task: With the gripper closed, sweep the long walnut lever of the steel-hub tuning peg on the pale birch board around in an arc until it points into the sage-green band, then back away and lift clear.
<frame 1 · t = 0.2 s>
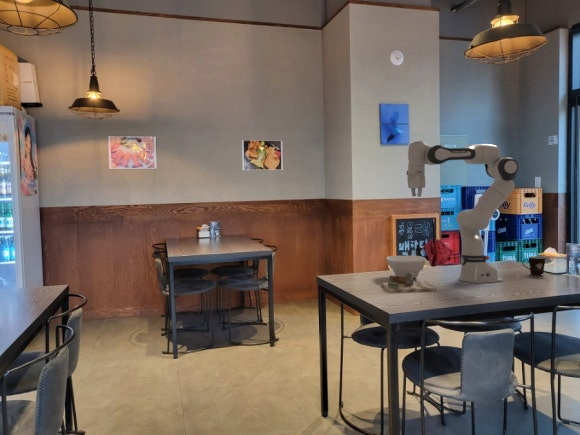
hand: (416, 196, 257), 47 cm above the table, tool pointing down, fingers open, 8 cm apart
coffee mug: (533, 274, 273), on the table
tuner board: (409, 287, 244), on the table
bowl: (406, 278, 272), on the table
tuning peg: (401, 278, 245), point 5 cm above the table, hinge at -20.0°
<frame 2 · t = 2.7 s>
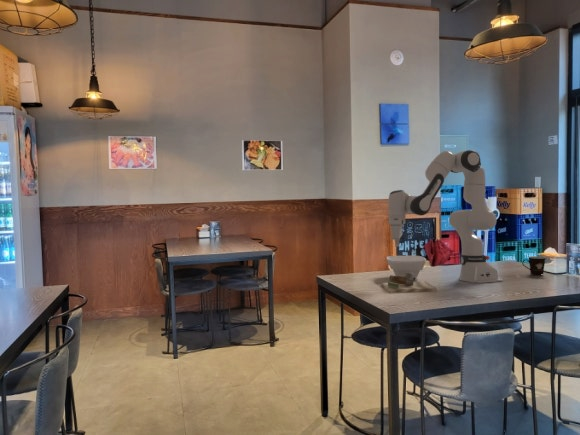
hand: (397, 246, 250), 21 cm above the table, tool pointing down, fingers closed
nothing on the table moved.
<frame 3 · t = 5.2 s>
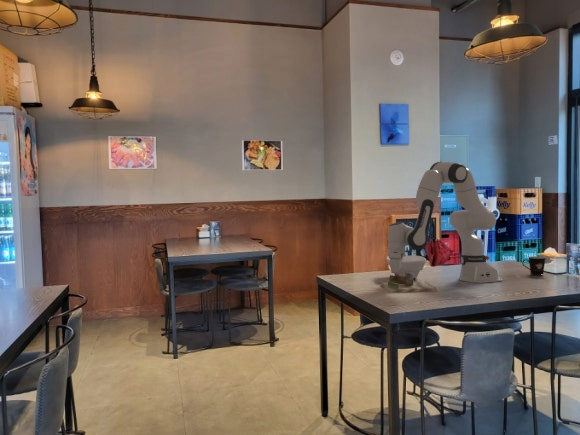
hand: (396, 279, 248), 4 cm above the table, tool pointing down, fingers closed
tuning peg: (401, 278, 245), point 5 cm above the table, hinge at -20.0°, touching gripper
everything else where it was.
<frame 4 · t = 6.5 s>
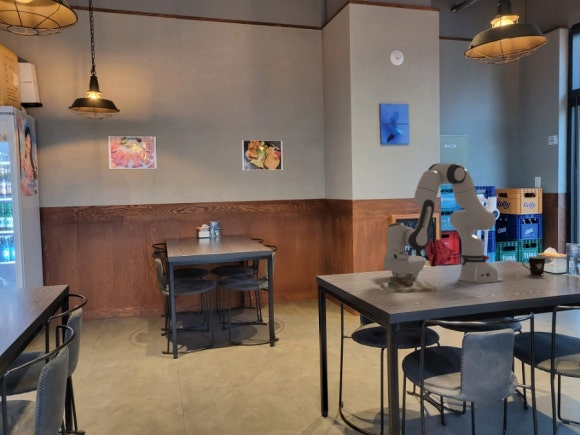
hand: (395, 280, 244), 4 cm above the table, tool pointing down, fingers closed
tuning peg: (402, 279, 243), point 5 cm above the table, hinge at 10.3°, touching gripper
everything else where it was.
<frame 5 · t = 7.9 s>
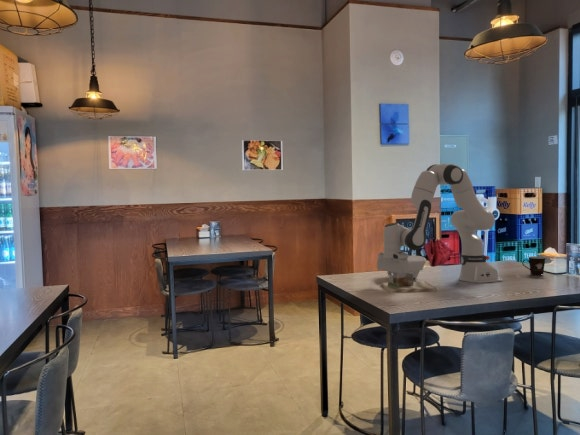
hand: (392, 280, 245), 4 cm above the table, tool pointing down, fingers closed
tuning peg: (403, 279, 242), point 5 cm above the table, hinge at 26.7°
everything else where it was.
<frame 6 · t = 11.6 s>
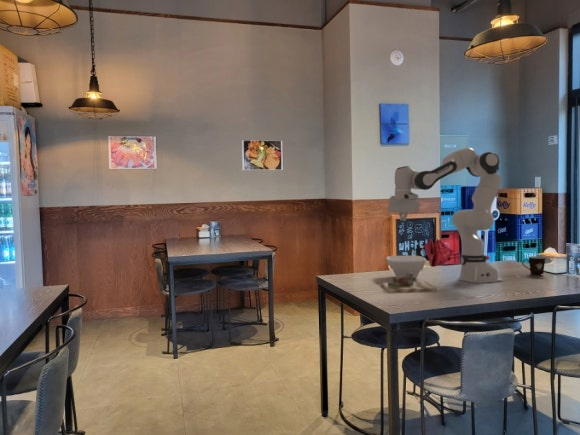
hand: (403, 220, 260), 34 cm above the table, tool pointing down, fingers closed
nothing on the table moved.
at the end: tuning peg at +27° (first picture: -20°); bowl moved 0.3 cm from its start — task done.
